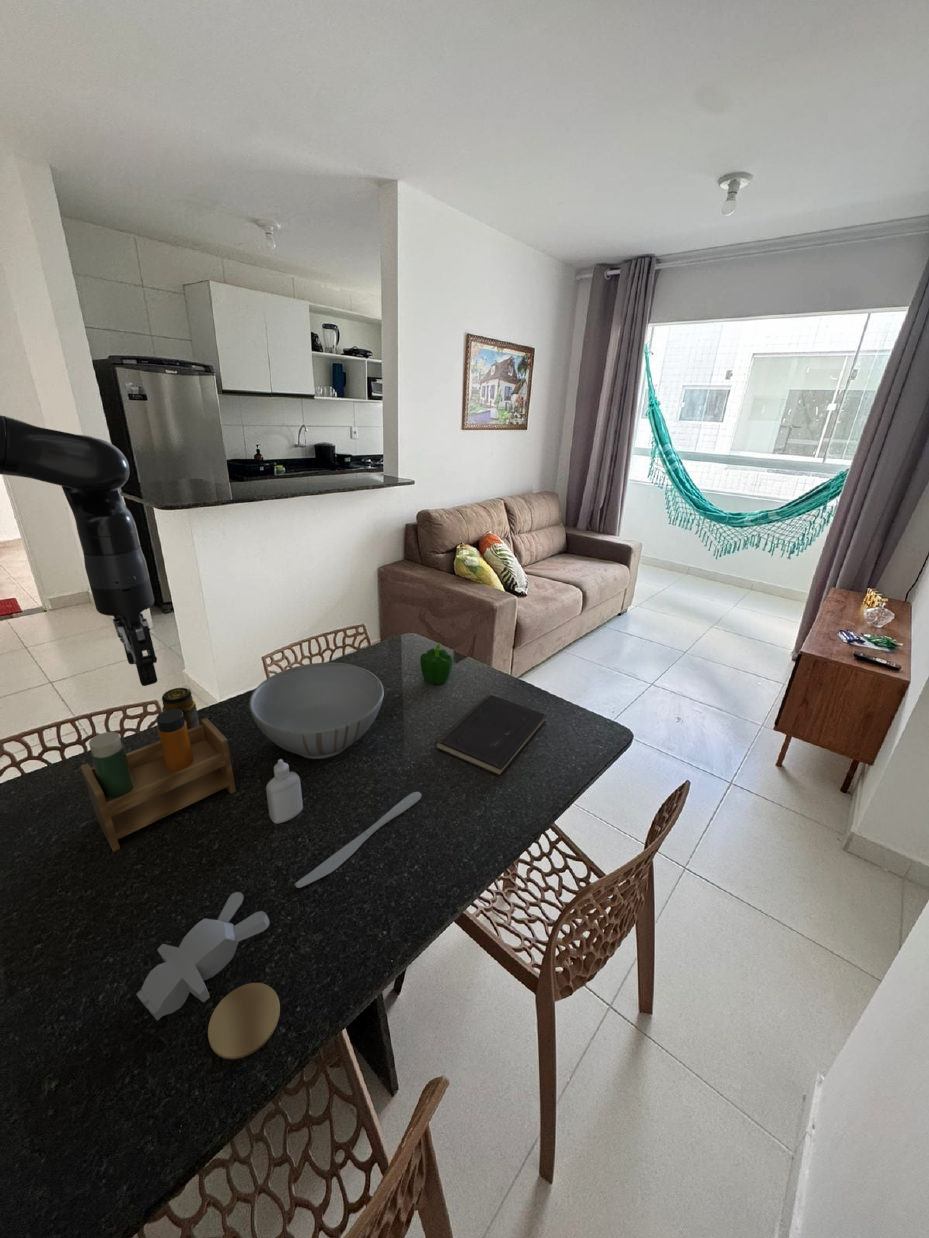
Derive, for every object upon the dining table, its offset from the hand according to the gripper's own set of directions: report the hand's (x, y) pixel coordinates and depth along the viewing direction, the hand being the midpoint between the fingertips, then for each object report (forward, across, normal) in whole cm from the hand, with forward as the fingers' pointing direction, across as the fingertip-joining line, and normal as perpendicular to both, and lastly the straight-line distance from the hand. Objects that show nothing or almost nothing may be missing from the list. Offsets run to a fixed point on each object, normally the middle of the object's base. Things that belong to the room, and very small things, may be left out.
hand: (142, 672), depth 83 cm
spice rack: (+27, +1, -1) cm, 27 cm away
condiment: (+27, -15, +7) cm, 32 cm away
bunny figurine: (+27, +34, -5) cm, 44 cm away
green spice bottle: (+19, +2, -7) cm, 20 cm away
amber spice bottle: (+19, +1, +2) cm, 19 cm away
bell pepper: (+27, -4, +65) cm, 70 cm away
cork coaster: (+27, +44, -4) cm, 52 cm away
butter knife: (+27, +30, +22) cm, 46 cm away
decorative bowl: (+27, +1, +29) cm, 40 cm away
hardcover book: (+27, +23, +60) cm, 70 cm away
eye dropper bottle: (+27, +16, +14) cm, 34 cm away
